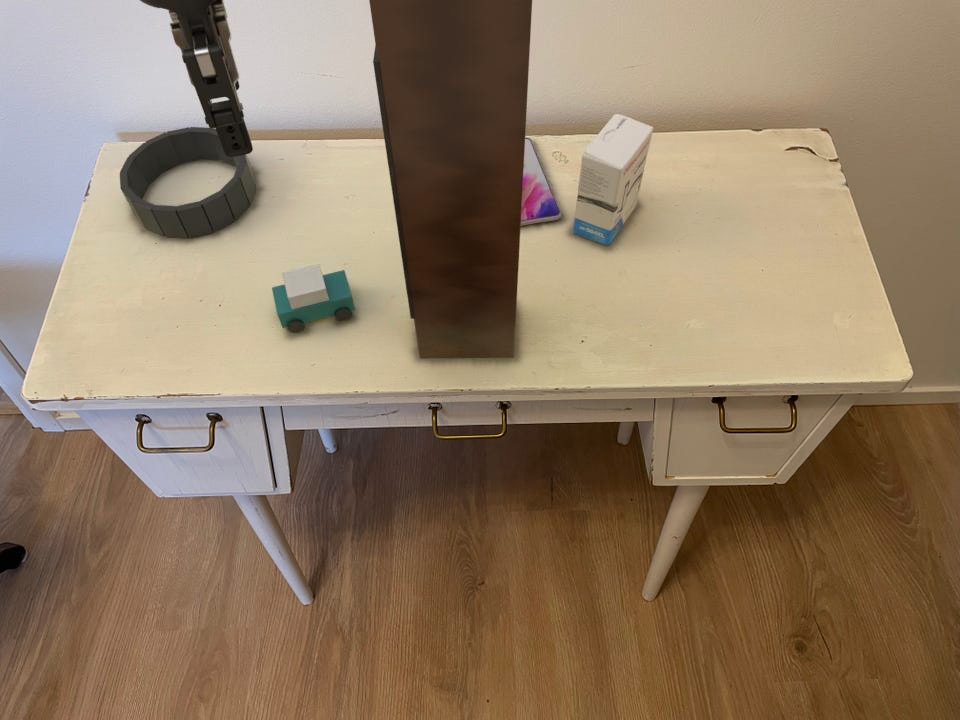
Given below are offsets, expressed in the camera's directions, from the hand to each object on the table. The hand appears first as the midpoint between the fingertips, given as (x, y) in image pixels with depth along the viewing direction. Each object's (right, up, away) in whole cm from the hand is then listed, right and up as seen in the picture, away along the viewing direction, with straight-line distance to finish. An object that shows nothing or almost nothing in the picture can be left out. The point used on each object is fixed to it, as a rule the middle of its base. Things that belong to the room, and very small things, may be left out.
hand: (233, 120), depth 60 cm
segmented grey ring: (-15, +1, +31) cm, 34 cm away
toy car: (+2, -14, +20) cm, 25 cm away
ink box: (+36, -3, +28) cm, 45 cm away
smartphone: (+25, +2, +31) cm, 40 cm away
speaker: (+19, -17, +18) cm, 31 cm away
